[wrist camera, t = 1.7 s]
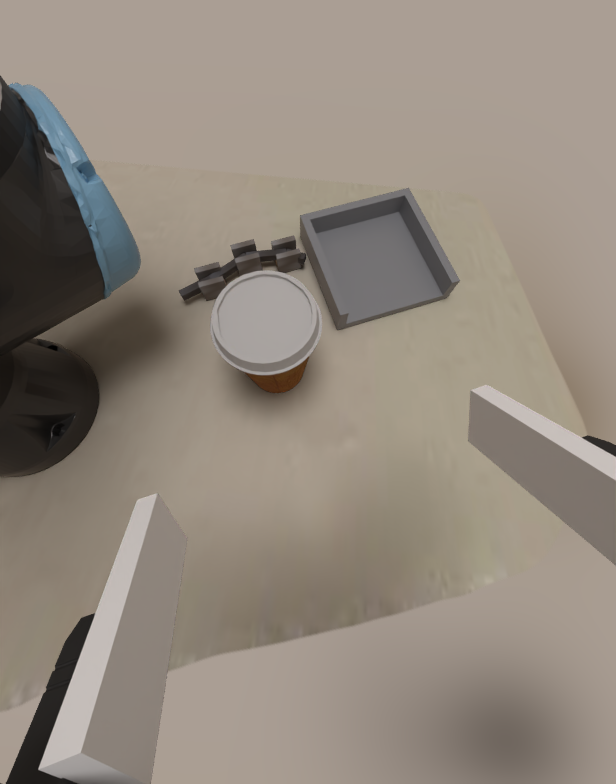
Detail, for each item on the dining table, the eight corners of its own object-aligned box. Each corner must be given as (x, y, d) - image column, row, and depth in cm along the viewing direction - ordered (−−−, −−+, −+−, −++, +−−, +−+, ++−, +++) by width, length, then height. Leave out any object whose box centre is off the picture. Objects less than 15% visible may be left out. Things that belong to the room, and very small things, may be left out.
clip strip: (186, 306, 38) (177, 293, 36) (178, 275, 40) (169, 260, 37) (308, 273, 40) (309, 258, 37) (297, 244, 41) (297, 227, 38)
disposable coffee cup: (255, 322, 38) (233, 252, 26) (327, 345, 37) (337, 284, 25) (224, 391, 35) (185, 347, 24) (301, 417, 34) (299, 385, 23)
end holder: (337, 330, 37) (340, 315, 34) (300, 237, 42) (300, 215, 38) (446, 297, 39) (459, 280, 36) (400, 210, 43) (408, 187, 40)
